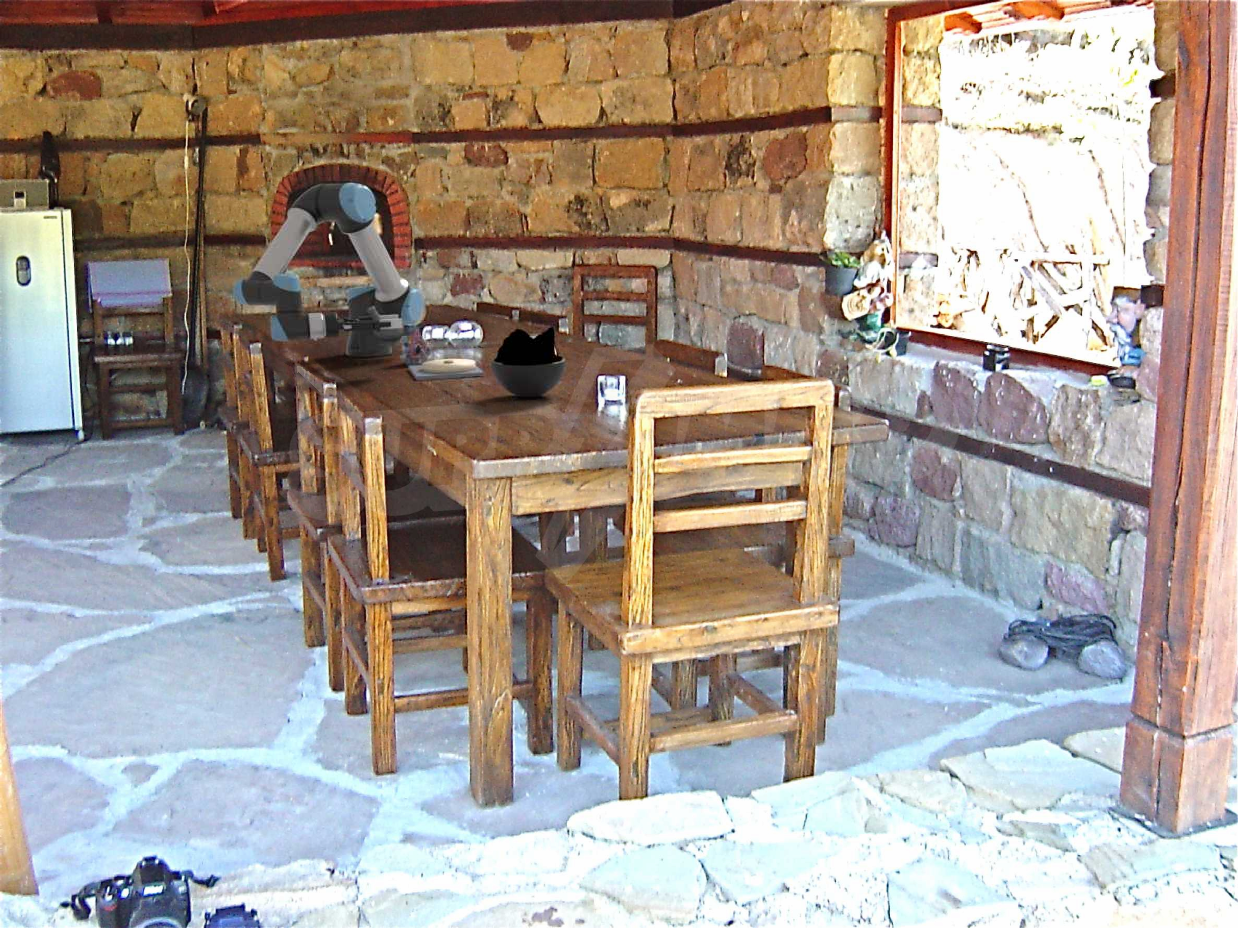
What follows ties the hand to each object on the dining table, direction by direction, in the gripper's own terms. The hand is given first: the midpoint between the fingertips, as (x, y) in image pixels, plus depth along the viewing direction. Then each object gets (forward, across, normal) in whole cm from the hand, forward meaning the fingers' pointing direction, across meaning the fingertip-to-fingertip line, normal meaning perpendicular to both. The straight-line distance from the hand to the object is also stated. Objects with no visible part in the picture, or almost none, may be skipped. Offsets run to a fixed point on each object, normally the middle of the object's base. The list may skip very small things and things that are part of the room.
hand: (400, 321), depth 396 cm
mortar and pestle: (-4, 0, -7) cm, 8 cm away
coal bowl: (+29, +52, -16) cm, 62 cm away
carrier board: (+13, +1, -16) cm, 21 cm away
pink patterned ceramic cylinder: (+6, -21, -17) cm, 27 cm away
